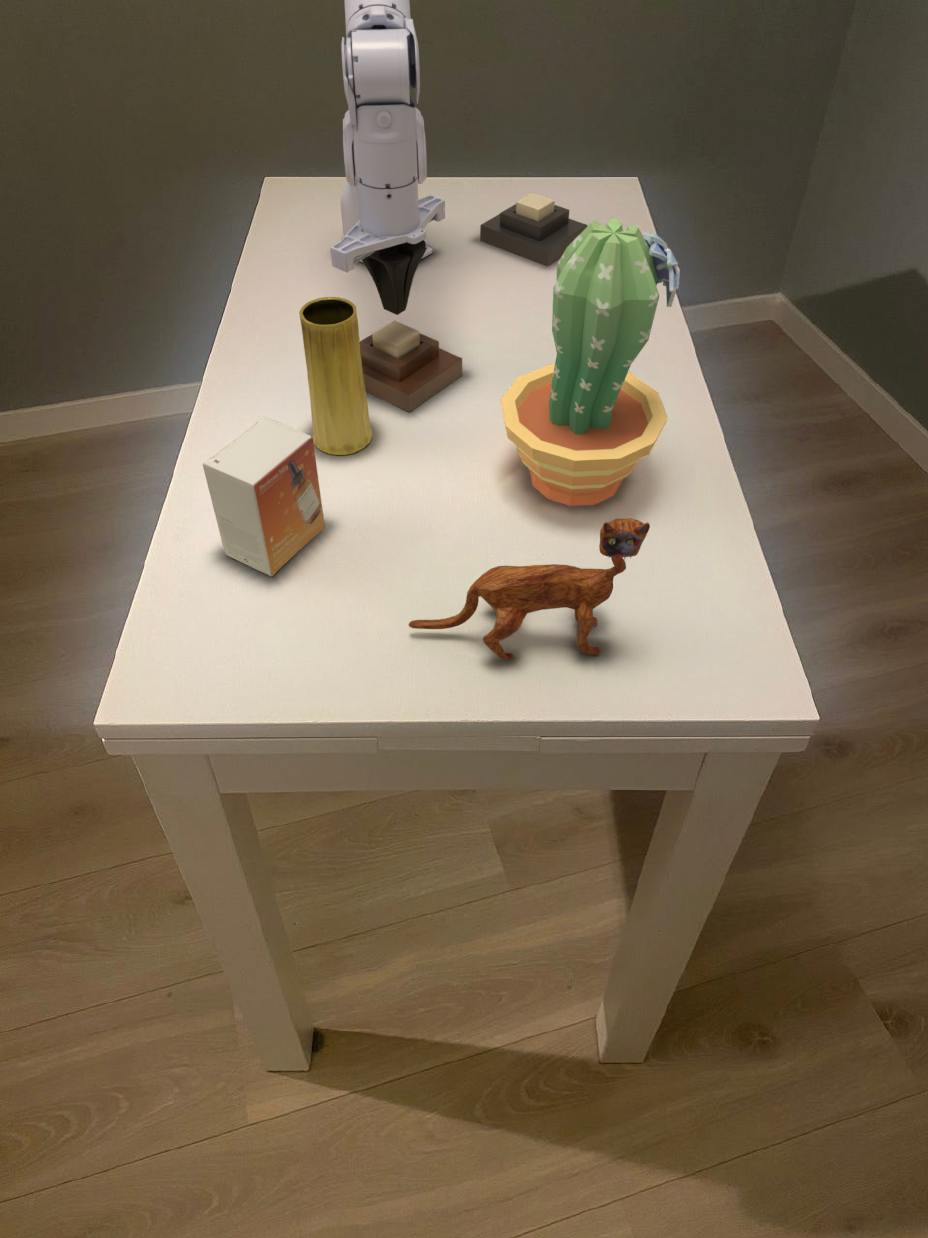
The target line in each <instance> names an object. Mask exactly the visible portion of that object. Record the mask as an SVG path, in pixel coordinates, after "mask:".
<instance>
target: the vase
mask: <svg viewBox="0 0 928 1238" xmlns="http://www.w3.org/2000/svg"><path fill="white" fill-rule="evenodd" d="M358 319H359V318H358V311H357V307H356V305H355V303H354V302H353V301H351V300H349V299H346V298H345V297H344V298H343V297H339V296H323V297H318V298H315V299H312V300H309V301H307V302H305V304H303V305H302V307H300V310H299V320H300V327H301V334H302V341H303V342H302V343H303V350H304V358H305V365H306V372H307V382H308V383H307V384H308V391H309V399H310V401H309V402H310V413H311V422H312V423H311V424H312V435H311V437H313V443H314V447H316V448H317V449H318V450H320V451H321V452H323V453H326V454H329V455H333V456H346V455H351V454H355V453H358V452H360V451H361V450H363V449H365V448H366V447H367V446H368V445H369V444H370V442H371V441H372V439H373V430H372V428H371V423H370V412H369V405H368V398H367V392H366V388H365V381H364V375H363V368H362V360H361V353H360V332H359V329H360V328H359V320H358Z"/></svg>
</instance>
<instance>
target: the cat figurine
mask: <svg viewBox="0 0 928 1238" xmlns="http://www.w3.org/2000/svg"><path fill="white" fill-rule="evenodd" d="M650 528H651V525H650V522H648V521H646V522H643V521H641V520H638V519H637V518H636V519H635V518H632V517H628V518H627V517H624V518H623V517H619V518H618V517H617V518H614V519H612V520H610V521H605V522H604V523H603V524H602V526H601V529H600V531H599V546H598V548H599V549H598V550H599V552H600V554H601V555H602V556H605V557H608V558H610V560H611V562H612V565H613V566H611V567H610V568H582V567H578V566H575V565H568V564H559V563H557V564H556V563H555V564H554V563H553V564H535V565H533V564H532V565H498V566H495V567H491V568H489V569H488V570H486V571H485V572H484V573H482V574H481V575H480V576H479V577H478V578H477V579H476V580H475V581H474V582H473V583H472V584H471V585H470V587H469V589H468V590H467V592H466V598H465V604H464V606H463V608H462V610H461V611H460V612H459V613H457V614H456V615H453V616H450V617H446V618H439V619H414V620H411V621H410V622H408V627H409V628H411V629H417V630H419V629H420V630H446V629H451V628H455V627H458V626H460V625H462V624H465V623H466V622H467V621H469V620H470V618H472V616H473V615H474V614H475V613H476V611H477V609H478V606H479V601H480V600H479V599H480V597H481V599H483V600H484V601H485V602H486V603H487V604H488V605H489V606H490V607H491V608H492V610H493V611H494V612H495V614H496V620H495V623H494V625H493V628H492V629H491V630H490V631H489V632H488V633H487V634H485V635H484V636H483V637H482V638H481V640H482V642H483V643H484V644H485V646H487V648H488V649H490V650H491V651H492V652H493V653H495V654H496V655H497V657H498V658H500V659H501V660H513V659H515V658H516V656H515V655H514V654H513V653H512V652H506V651H505V649H504V648H503V646H502V644H501V643H500V642H501V641H503V640H506V639H507V638H509V637H511V636H512V635H513V634H515V633H516V632H517V631H518V630H519V629H520V627H521V626H522V625H523V622H524V620H525V618H526V616H527V615H528V614H530V613H534V612H538V611H539V612H540V611H542V610H553V609H561V608H562V609H564V608H567V609H570V610H574V618H575V621H576V622H577V623H579V624H578V628H577V633H576V645H577V648H578V649H579V651H581V652H582V653H583V654H586V655H589V656H600V655H601V653H602V649H601V648H600V647H599V646H594V645H592V644H591V643H590V641H589V640H588V637H589V635H590V634H591V632H592V630H593V628H594V627H596V626H597V625H598V624H599V621H598V620H599V619H598V618H597V617H596V616H594V609H595V608H598V606H600V605H601V604H603V603H605V602H606V601H607V600H609V598H610V597H611V595H612V593H613V590H614V578H615V577H616V576H617V575H619V574H621V573H623V572H625V570H626V569H627V564H626V561H625V560H626V558H629V560H631V559H632V557H637V555H638V554H639V552H640V550H641V547H642V544H643V543H644V541H645V539H646V537H647V535H648V533H649V531H650Z"/></svg>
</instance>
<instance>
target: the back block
mask: <svg viewBox="0 0 928 1238" xmlns="http://www.w3.org/2000/svg"><path fill="white" fill-rule="evenodd" d="M588 225H589V224H586V223H583V222H580V221H578V220H574V219H572V218H570V209H568V208H565V207H562V206H560V205H556V204H555V205H554V213H552V214H550V215H549V216H547V217H546V218H544V219H542V220H541V221H539V222H538V221H535V220H533V219H530V218H527V217H524V216H521V215H519V214H516V203H515V204H513V205H511V206H510V207H508V208H506V209H504V210H503V211H501V212H500V213H499V214H497V215H495V216H493V217H492V218H490V219H488V220H486V221H485V222H483V223H481V224H480V226H479V227H480V228H479V241H480V242H482V243H484V244H486V245H487V244H488V245H490V246H492V247H495V248H498V249H501V250H502V251H506V252H509V253H511V254H514V255H517V256H518V257H522V258H524V259H527V260H530V261H531V262H535V263H537V264H540V265H543V266H545V267H549V266H550V265H552V264H554V263H555V262H556V261H559V260H560V259H561V257H562V255H563V253H564V252H565V250H566V248H567V247H568V246H569V245H570V244H571V243H572V242H573V241H574V240H575V239H576V238H577V237H578V236H579V235H580V234H581V233H582V232H583V231H584V230H585V229H586V228H587V226H588Z"/></svg>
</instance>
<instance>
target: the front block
mask: <svg viewBox="0 0 928 1238" xmlns="http://www.w3.org/2000/svg"><path fill="white" fill-rule="evenodd" d="M385 326H386V325H385ZM385 326H383V327H385ZM372 334H373V333H371V334H370V335H368V336H366V337H365V338H363V339H361V340H359V342H360V353H361V360H362V368H363V375H364V381H365V388H366V393H368V394H370V395H372V396H375V398H376V397H377V398H379V399H380V400H382V401H384V402H386V403H388V404H390V405H392V406H393V407H394V406H395V407H396V408H398V409H401V410H402V411H404V412H406V413H408V414H409V413H412V412H413V411H414V410H415V409H417V408H418V407H420V406H421V405H423V404H424V403H425V402H427V401H428V400H429V399H431V398H433V397H434V396H435V395H437V394H439V392H441V391H442V390H444V389H445V388H447V387H448V386H450V385H451V384H452V383H454V382H455V381H457V380H458V379H460V378H461V377H462V376H463V357H460V356H458V355H456V354H454V353H452V352H449V351H447V350H445V349H442V348H440V342H439V341H438V340H436V339H434V338H432V337H429V336H428V335H425V334H423V333H421V332H420V345H419V346H417V347H416V348H414V349H413V350H411V351H410V352H408V353H406V354H405V355H403V356H402V357H400V358H399V359H397V358H395V357H393V356H391V355H389V354H387V353H384V352H382V351H380V350H378V349H376V348H374V347H373V337H372Z"/></svg>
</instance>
